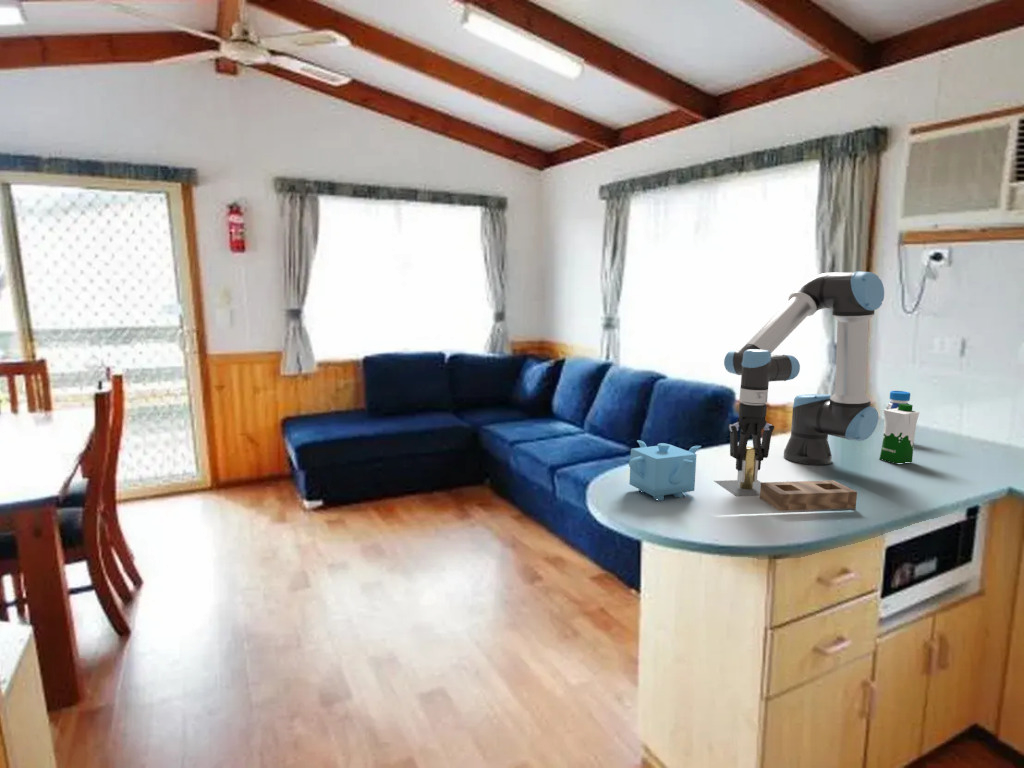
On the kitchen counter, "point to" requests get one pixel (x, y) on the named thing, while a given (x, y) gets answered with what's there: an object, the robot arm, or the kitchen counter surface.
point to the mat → (735, 488)
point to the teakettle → (663, 469)
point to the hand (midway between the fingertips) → (747, 480)
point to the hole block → (808, 495)
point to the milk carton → (899, 434)
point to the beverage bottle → (898, 399)
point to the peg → (749, 468)
